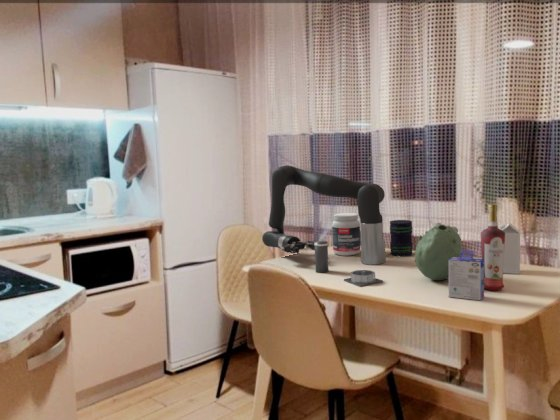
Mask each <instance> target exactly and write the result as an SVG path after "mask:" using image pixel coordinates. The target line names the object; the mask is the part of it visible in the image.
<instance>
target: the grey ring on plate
mask: <svg viewBox="0 0 560 420" xmlns="http://www.w3.org/2000/svg"><path fill="white" fill-rule="evenodd" d="M343 281H344V282H347V283H349V284H352V285H354V286H357V287H366V286H370V285H376V284H380V283H383V282H384V281H383V280H382V279H379V278H376V272H375V271H373V270H369V269H358V270H357V269H356V270H353V271H351V272H350V277H347V278H344V279H343Z"/></svg>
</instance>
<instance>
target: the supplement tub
mask: <svg viewBox="0 0 560 420" xmlns="http://www.w3.org/2000/svg"><path fill="white" fill-rule="evenodd" d="M358 219H359V214H358V213H353V212H341V213H335V214H333V221H332V224H331V230H332V232H331V233H332V235H331V236H332V252H333V253H334V255H337V256H343V257H346V256H347V257H348V256H349V257H350V256H356V255H359V254H361V228H360V220H358Z"/></svg>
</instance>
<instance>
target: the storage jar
mask: <svg viewBox="0 0 560 420" xmlns="http://www.w3.org/2000/svg"><path fill="white" fill-rule="evenodd" d="M389 224H390V225H389V234H390V243H389V246H390V247H389V249H390V255H391V256H393V257H399V256H400V257H410V256H413V249H414V248H413V247H414V246H413V240H412V238H413V235H412V234H413V221H412V220H408V219H396V220H390V221H389Z"/></svg>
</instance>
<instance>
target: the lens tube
mask: <svg viewBox="0 0 560 420" xmlns="http://www.w3.org/2000/svg"><path fill="white" fill-rule="evenodd" d="M313 242H314V246H315V250H314V263H315V273H317V274H325V273H328V272H329V248H328V247H329V243H328V241H327V240H317V241H313Z"/></svg>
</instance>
